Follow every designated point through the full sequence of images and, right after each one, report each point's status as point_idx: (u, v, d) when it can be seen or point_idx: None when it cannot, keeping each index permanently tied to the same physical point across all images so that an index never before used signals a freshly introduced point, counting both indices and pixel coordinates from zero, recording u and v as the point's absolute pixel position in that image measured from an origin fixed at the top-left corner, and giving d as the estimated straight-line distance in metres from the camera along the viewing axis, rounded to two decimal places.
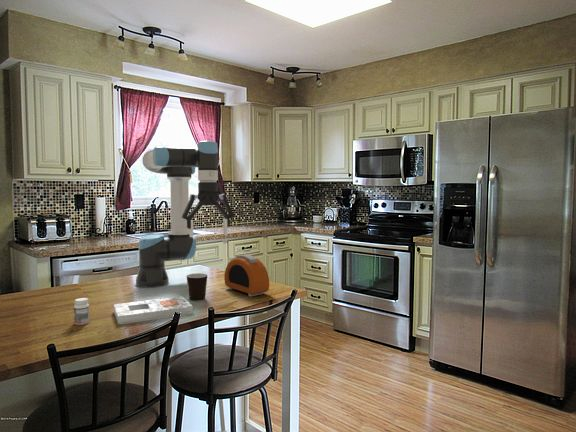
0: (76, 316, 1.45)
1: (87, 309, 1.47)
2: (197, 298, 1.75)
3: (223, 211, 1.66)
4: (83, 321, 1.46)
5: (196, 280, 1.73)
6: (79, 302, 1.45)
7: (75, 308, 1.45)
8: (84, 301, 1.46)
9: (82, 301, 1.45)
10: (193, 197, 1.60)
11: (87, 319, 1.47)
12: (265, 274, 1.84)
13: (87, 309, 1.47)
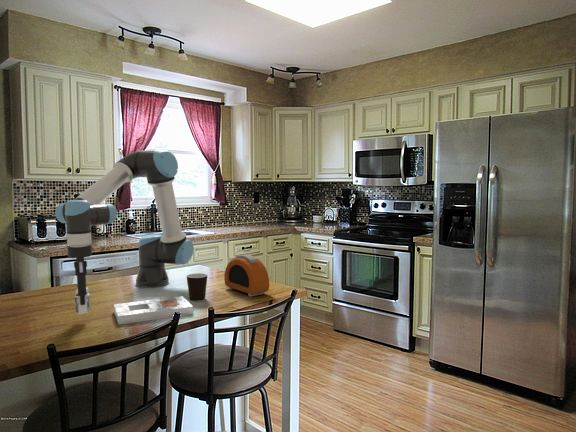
0: (77, 305, 1.45)
1: (88, 298, 1.47)
2: (197, 298, 1.75)
3: None
4: None
5: (196, 280, 1.74)
6: None
7: (76, 297, 1.45)
8: None
9: None
10: None
11: (88, 308, 1.47)
12: (265, 274, 1.84)
13: (88, 298, 1.47)
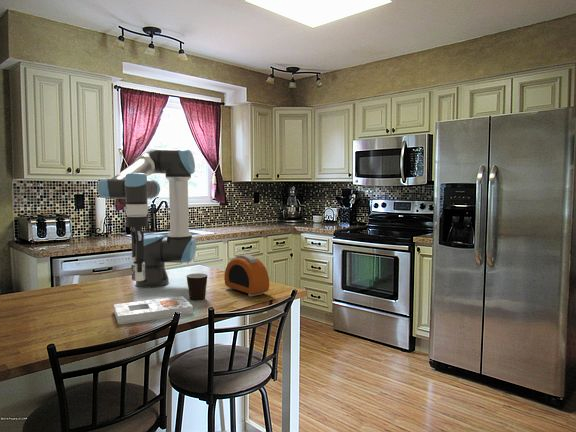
0: (134, 273, 1.53)
1: (143, 266, 1.54)
2: (197, 298, 1.75)
3: (135, 253, 1.51)
4: None
5: (196, 280, 1.74)
6: None
7: (133, 265, 1.53)
8: None
9: None
10: None
11: (143, 276, 1.54)
12: (265, 274, 1.84)
13: (144, 267, 1.55)
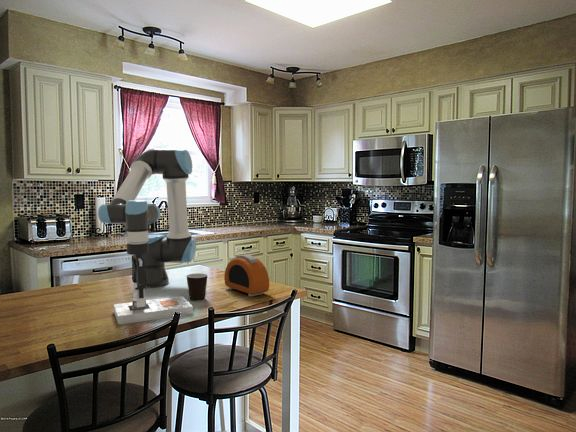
0: (135, 308, 1.54)
1: None
2: (197, 298, 1.75)
3: (136, 279, 1.51)
4: None
5: (196, 280, 1.74)
6: None
7: (134, 301, 1.54)
8: None
9: None
10: (132, 258, 1.59)
11: None
12: (265, 274, 1.84)
13: (145, 302, 1.56)
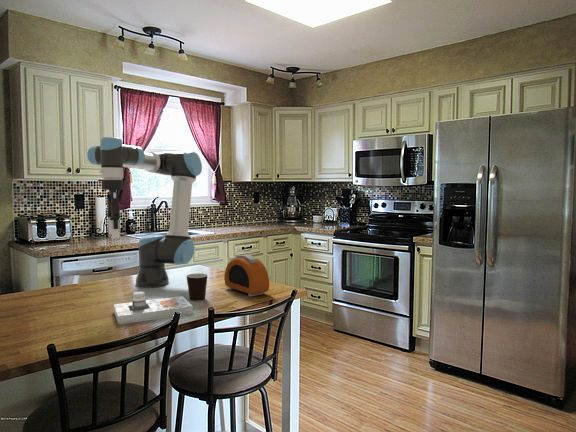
0: (135, 308, 1.54)
1: (144, 302, 1.55)
2: (197, 298, 1.75)
3: (111, 211, 1.53)
4: None
5: (196, 280, 1.74)
6: (137, 295, 1.54)
7: (134, 301, 1.54)
8: (142, 294, 1.55)
9: (140, 294, 1.54)
10: (107, 195, 1.63)
11: None
12: (265, 274, 1.84)
13: (145, 302, 1.56)
